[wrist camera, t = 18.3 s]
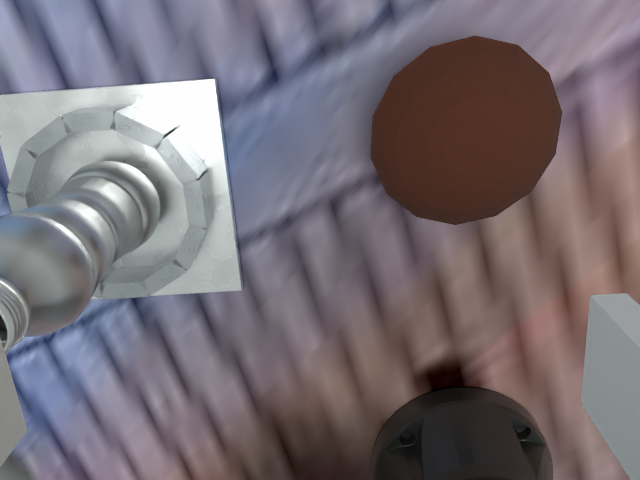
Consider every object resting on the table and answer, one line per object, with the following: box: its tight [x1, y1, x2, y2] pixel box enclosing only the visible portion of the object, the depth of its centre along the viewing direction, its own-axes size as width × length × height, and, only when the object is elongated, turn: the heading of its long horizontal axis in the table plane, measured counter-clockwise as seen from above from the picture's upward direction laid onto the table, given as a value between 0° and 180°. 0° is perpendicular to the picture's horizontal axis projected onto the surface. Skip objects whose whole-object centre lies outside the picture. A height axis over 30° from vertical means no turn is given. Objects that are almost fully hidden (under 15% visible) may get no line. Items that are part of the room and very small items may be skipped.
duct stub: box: [0, 78, 243, 299], centre depth 43 cm, size 16×16×4 cm
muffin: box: [371, 36, 562, 225], centre depth 38 cm, size 12×11×10 cm
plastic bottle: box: [0, 161, 160, 353], centre depth 35 cm, size 6×7×20 cm
